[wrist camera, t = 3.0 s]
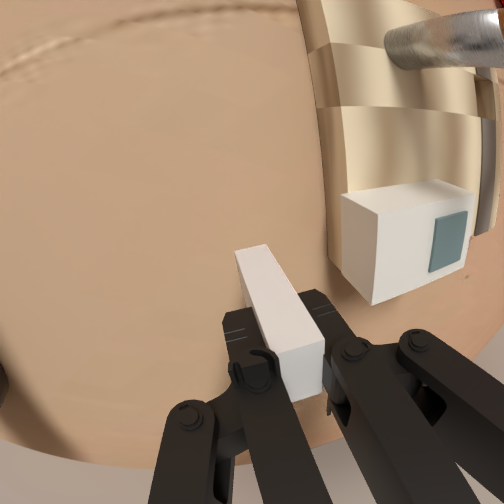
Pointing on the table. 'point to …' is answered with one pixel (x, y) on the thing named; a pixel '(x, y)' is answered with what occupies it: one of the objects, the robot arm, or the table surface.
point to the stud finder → (404, 236)
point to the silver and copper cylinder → (449, 41)
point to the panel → (396, 112)
